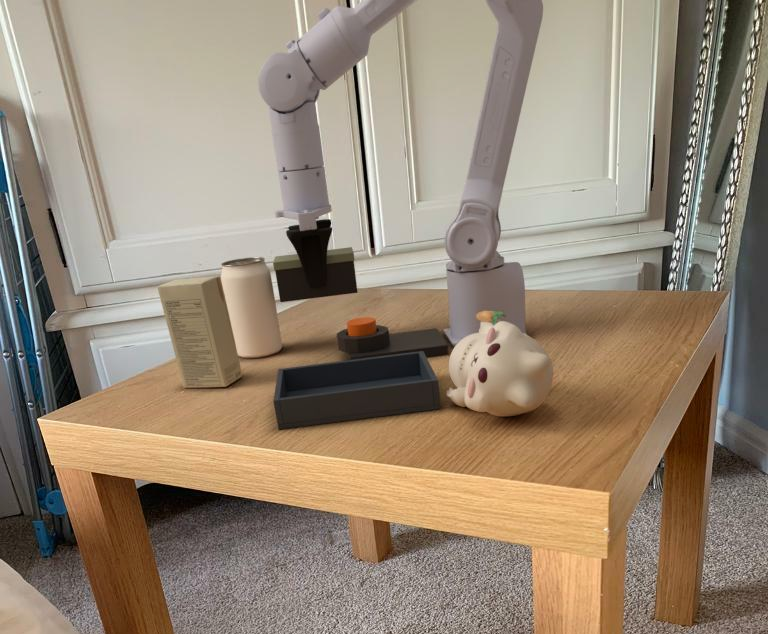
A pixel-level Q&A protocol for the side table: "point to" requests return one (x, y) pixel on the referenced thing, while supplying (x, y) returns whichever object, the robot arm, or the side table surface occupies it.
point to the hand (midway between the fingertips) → (317, 282)
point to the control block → (392, 343)
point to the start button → (361, 326)
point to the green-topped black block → (337, 276)
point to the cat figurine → (499, 369)
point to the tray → (355, 390)
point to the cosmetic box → (200, 331)
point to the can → (251, 307)
